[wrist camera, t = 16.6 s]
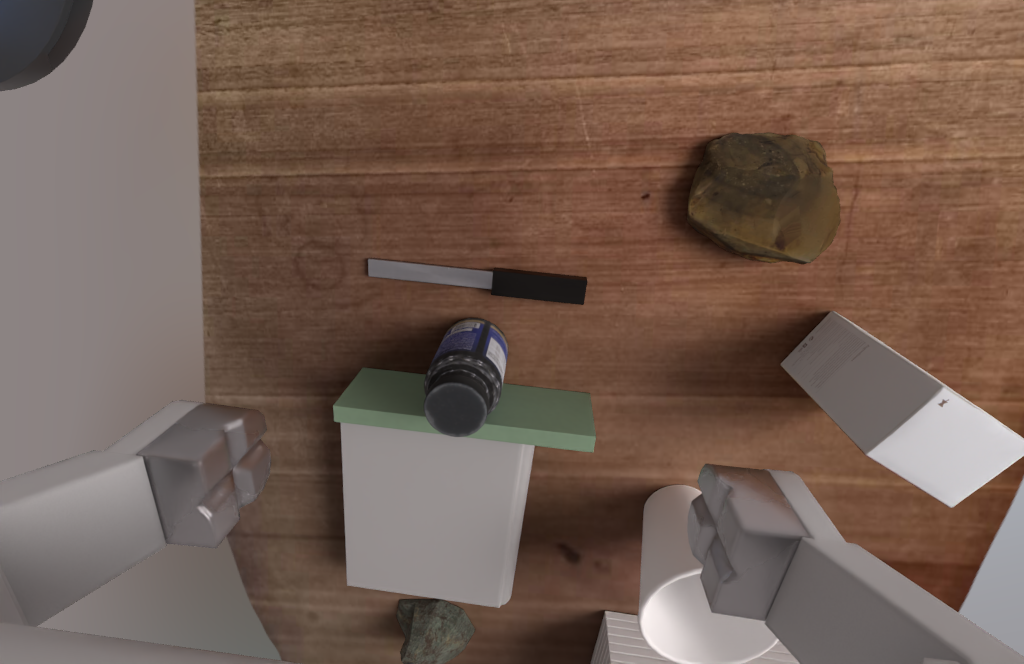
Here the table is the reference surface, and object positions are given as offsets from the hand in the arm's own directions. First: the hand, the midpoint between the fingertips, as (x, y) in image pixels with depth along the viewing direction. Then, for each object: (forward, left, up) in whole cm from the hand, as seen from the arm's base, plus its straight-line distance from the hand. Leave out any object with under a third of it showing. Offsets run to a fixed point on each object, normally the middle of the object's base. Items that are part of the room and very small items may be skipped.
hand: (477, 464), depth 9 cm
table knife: (-4, -7, -33) cm, 34 cm away
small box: (+28, -11, -33) cm, 45 cm away
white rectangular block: (-7, -31, -33) cm, 46 cm away
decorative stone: (+17, +2, -33) cm, 37 cm away
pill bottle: (-4, -14, -33) cm, 36 cm away
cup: (+18, -30, -33) cm, 48 cm away
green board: (-4, -18, -33) cm, 38 cm away
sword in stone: (-7, -52, -33) cm, 62 cm away
